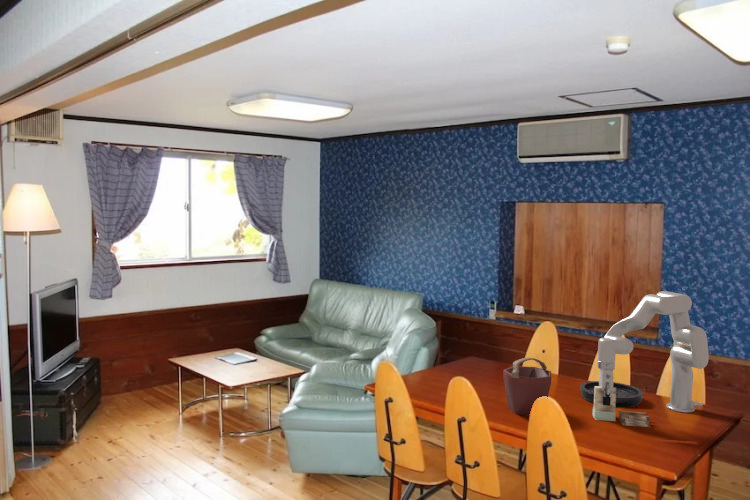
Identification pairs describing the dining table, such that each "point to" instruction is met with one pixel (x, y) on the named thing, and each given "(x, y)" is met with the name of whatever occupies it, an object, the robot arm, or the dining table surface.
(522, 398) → the bucket
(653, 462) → the dining table surface
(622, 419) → the rack
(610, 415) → the slotted stand
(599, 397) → the birch board
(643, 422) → the offcut stack
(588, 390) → the round tray
